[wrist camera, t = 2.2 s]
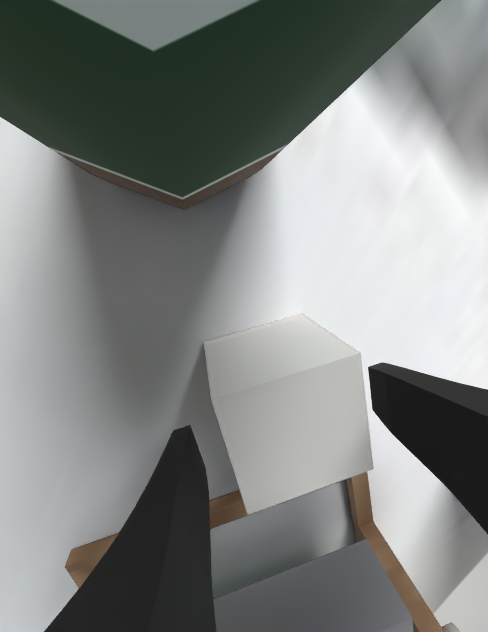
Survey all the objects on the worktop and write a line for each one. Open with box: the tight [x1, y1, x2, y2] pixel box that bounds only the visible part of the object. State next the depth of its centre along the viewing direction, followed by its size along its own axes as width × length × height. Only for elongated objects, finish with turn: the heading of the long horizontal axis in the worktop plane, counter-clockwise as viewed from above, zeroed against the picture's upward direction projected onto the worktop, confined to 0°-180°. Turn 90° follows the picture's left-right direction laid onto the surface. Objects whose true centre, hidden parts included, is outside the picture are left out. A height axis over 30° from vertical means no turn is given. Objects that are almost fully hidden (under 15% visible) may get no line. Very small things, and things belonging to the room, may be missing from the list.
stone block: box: [204, 313, 373, 515], centre depth 12 cm, size 5×5×5 cm
